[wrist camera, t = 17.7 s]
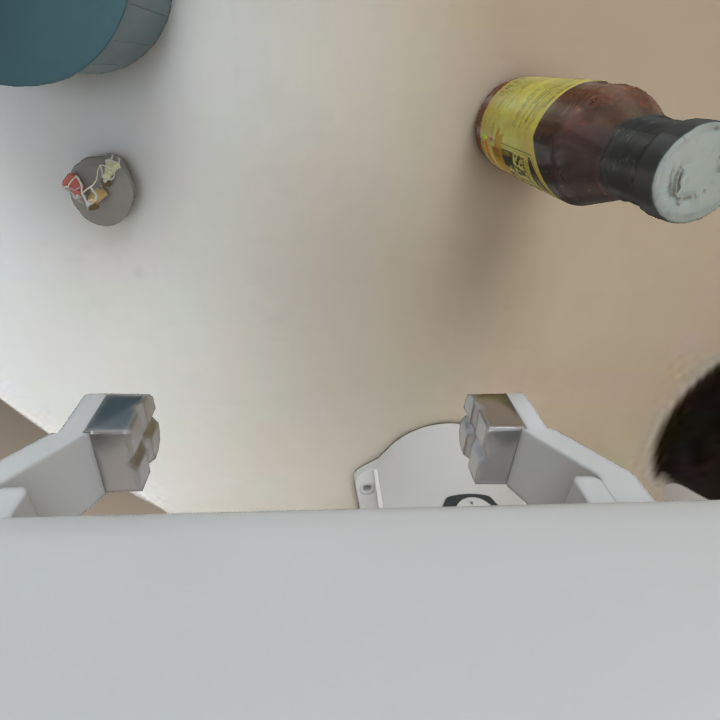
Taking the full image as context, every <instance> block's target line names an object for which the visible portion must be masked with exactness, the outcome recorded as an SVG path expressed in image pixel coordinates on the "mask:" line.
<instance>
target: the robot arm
mask: <svg viewBox="0 0 720 720" xmlns="http://www.w3.org/2000/svg"><path fill="white" fill-rule="evenodd" d="M464 409H465V412H466V414H467V415H466V416H465V417H464V418H463V419H462V420H461V422H460V424H454V423H446V424H436V425H431V426H426V427H423V428H420V429H417V430H415V431H412V432H410V433H408V434H406V435H405V436H403V437H401V438H400V439H398V440H397V441H396V442H394V443H393V444H392V445H391V446H390V447H389V448H388V449H387V450H386V451H385V452H384V453H383V454H382V455H381V456H380V457H379V458H377V459H376V460H374V461H372V462H370V463H368V464H366V465H364V466H362V467H360V468H359V469H358V470H356V471H355V473H354V482H355V487H356V492H357V497H358V502H359V507H360V509H333V510H292V511H252V512H212V513H172V514H136V515H135V514H132V515H94V516H93V515H92V516H81V515H82V514H84V512H86V511H87V510H88V509H89V508H91V507H92V506H93V505H94V504H95V503H96V502H97V501H99V500H100V499H101V498H102V497H103V496H104V495H106V493H108V492H130V491H143V488H144V486H145V483H146V481H147V478H148V476H149V473H150V468H149V463H150V462H152V461H153V460H154V459H155V458H156V456H157V453H158V450H159V443H160V430H159V424H158V422H157V421H156V420H155V419H154V418H153V417H152V415H153V413H154V411H155V404H154V399H153V397H152V396H151V395H150V394H107V393H99V394H87V395H85V396H84V397H83V398H82V399H81V401H80V402H79V404H78V405H77V407H76V408H75V410H74V411H73V412H72V414H71V415H70V417H69V418H68V420H67V421H66V422H65V424H64V425H63V427H62V428H61V430H60V431H59V432H58V433H51V434H49V435H48V436H45V437H44V438H42V439H40V440H38V441H36V442H34V443H32V444H30V445H28V446H27V447H25V448H23V449H21V450H19V451H17V452H15V453H13V454H12V455H9V456H8V457H6V458H4V459H2V460H0V720H720V500H696V501H655V500H654V499H653V498H652V496H651V495H650V494H649V493H648V491H647V490H646V489H645V488H644V486H643V485H642V484H641V482H640V481H639V480H638V479H637V477H636V476H635V475H634V474H633V473H631V472H629V471H627V470H626V469H624V468H622V467H620V466H619V465H617V464H615V463H613V462H611V461H610V460H608V459H606V458H604V457H602V456H601V455H599V454H597V453H595V452H594V451H592V450H590V449H588V448H586V447H585V446H583V445H581V444H579V443H577V442H576V441H574V440H572V439H570V438H569V437H567V436H565V435H563V434H561V433H560V432H558V431H556V430H554V429H547V427H546V426H545V424H544V423H543V421H542V419H541V418H540V416H539V415H538V413H537V412H536V410H535V409H534V407H533V406H532V404H531V403H530V401H529V400H528V398H527V397H526V395H525V394H523V393H504V394H467V396H466V399H465V402H464ZM366 485H369V486H366ZM526 504H528V505H526Z"/></svg>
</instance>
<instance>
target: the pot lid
mask: <svg viewBox="0 0 720 720" xmlns="http://www.w3.org/2000/svg"><path fill="white" fill-rule="evenodd" d="M130 1H131V0H0V85H7V86H15V87H16V86H40V85H46V84H52V83H56V82H59V81H62V80H65V79H68V78H70V77H72V76H74V75H76V74H78V73H80V72H82V71H83V70H85V69H86V68H88V67H89V66H90V65H91V64H93V63H94V62H95V61H96V60H98V59H99V58H100V56H101V55H102V54H103V53H104V52H105V51H106V50H107V49H108V48H109V46H110V45H111V43H112V42H113V40H114V39H115V37H116V35H117V34H118V32H119V31H120V28H121V26H122V24H123V21H124V19H125V17H126V15H127V12H128V8H129V4H130Z"/></svg>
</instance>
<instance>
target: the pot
mask: <svg viewBox="0 0 720 720" xmlns="http://www.w3.org/2000/svg"><path fill="white" fill-rule="evenodd" d="M171 3H172V0H131V1H130V4H129V8H128V12H127V15H126V17H125V19H124V21H123V24H122V26H121V28H120V31H119V32H118V34H117V35H116V37H115V39H114V40H113V42H112V43H111V45H110V46H109V48H108V49H107V50H106V51H105V52H104V53H103V54H102V55H101V56H100V58H99V59H98V60H96V61H95V62H94V63H93V64H91V65H90V66H89V67H88V68H86V69H85V70H83V71H82V72H80V73H78V74H102V73H106V72H109V71H114V70H117V69H120V68H123V67H125V66H127V65H129V64H131V63H133V62H135V61H136V60H138V59H139V58H140V57H141V56H143V55H144V54H145V53H146V52H147V51H148V50H149V49H150V48H151V47H152V46H153V45H154V43H155V42H156V40H157V39H158V37H159V36H160V34H161V32H162V30H163V28H164V26H165V24H166V21H167V18H168V15H169V12H170V8H171ZM78 74H76V75H78Z"/></svg>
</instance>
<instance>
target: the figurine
mask: <svg viewBox="0 0 720 720" xmlns="http://www.w3.org/2000/svg"><path fill="white" fill-rule="evenodd" d="M62 185H63V186H62V187H66V188H65V189H66V190H67V191H68V192H70V195H71V199H72V201H73V203H74V205H75V206H76V207H77V209H78V210H79V211H80V212H81V214H82V215H83V216H84V217H85V218H86V219H87V220H89V221H90V222H92V223H95V224H98V225H102V226H111V225H115V224H117V223H119V222H121V221H122V220H123V219H124V218H125V217H126V216H127V215H128V213H129V211H130V208H131V205H132V203H133V201H134V198H135V185H134V182H133V180H132V177H131V175H130V173H129V171H128V169H127V167H126V165H125V163H124V162H123V160H122V159H121V158H120V157H118V156H117V155H114V154H108V155H107V156H106V157H87V158H85V159H83V160H82V161H81V162H80V163H78V164H77V165H76V166H74V168H73V170H72V172H71V173H69V174H67V176H66V177H65V179H64V180H63V182H62ZM60 188H61V187H60ZM68 189H69V190H68Z"/></svg>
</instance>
